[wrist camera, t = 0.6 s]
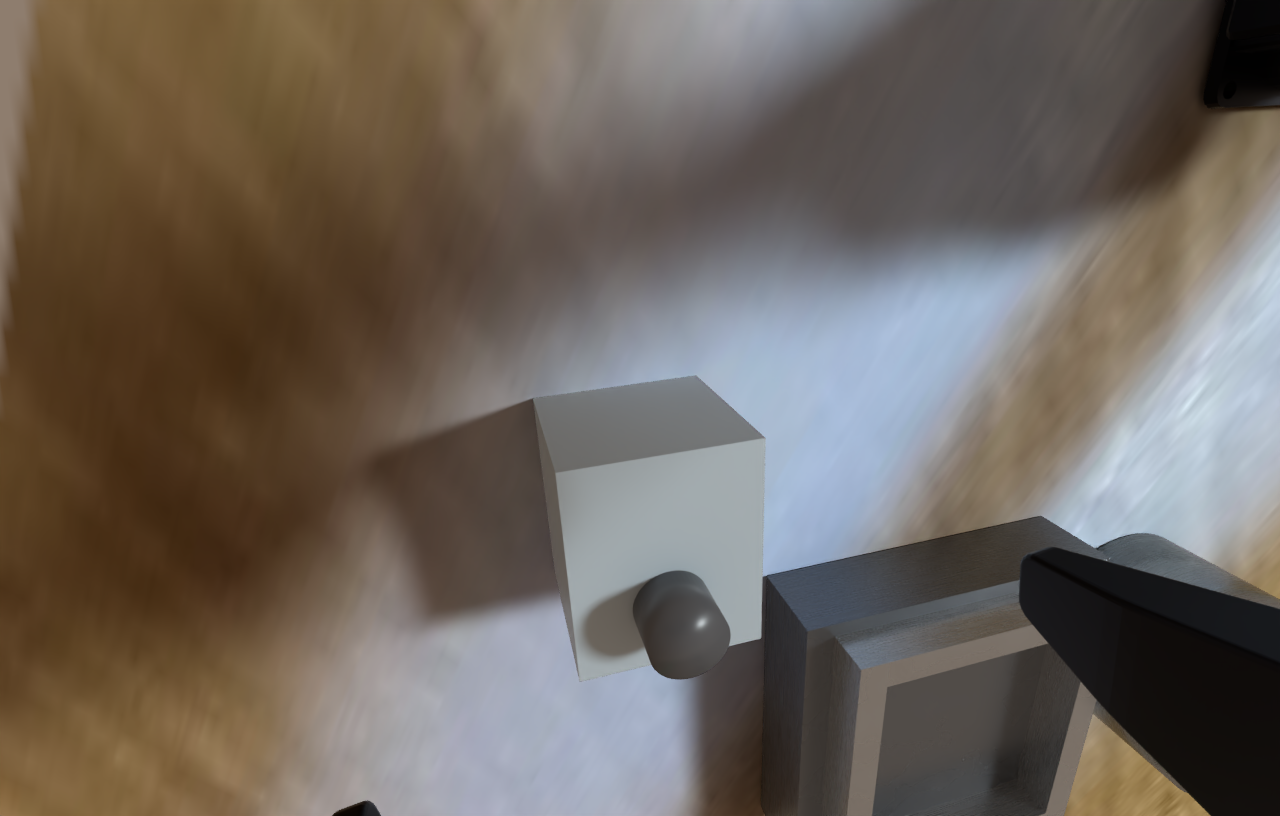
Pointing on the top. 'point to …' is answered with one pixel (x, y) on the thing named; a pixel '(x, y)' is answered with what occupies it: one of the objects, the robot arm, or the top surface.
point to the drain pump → (653, 524)
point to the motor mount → (935, 678)
